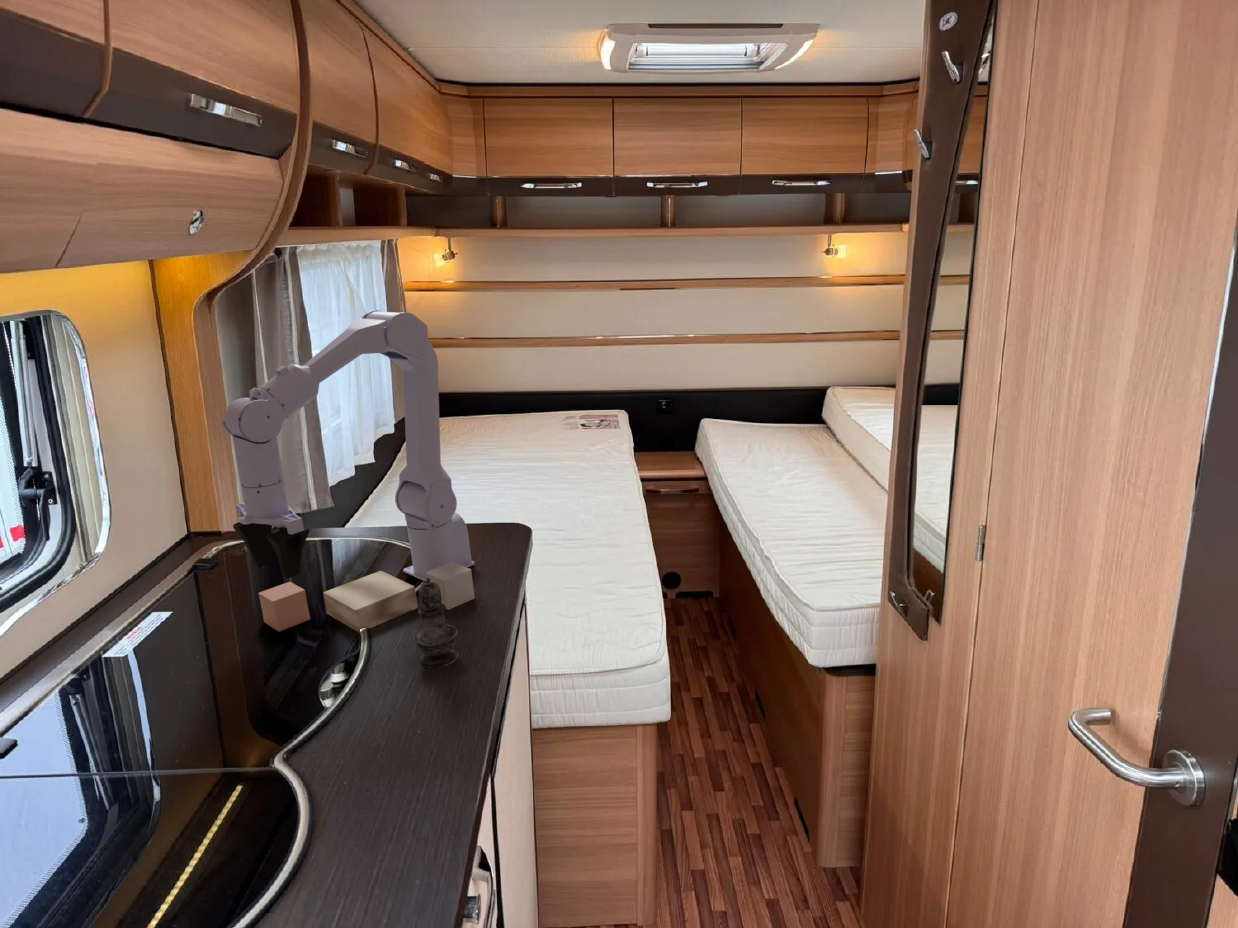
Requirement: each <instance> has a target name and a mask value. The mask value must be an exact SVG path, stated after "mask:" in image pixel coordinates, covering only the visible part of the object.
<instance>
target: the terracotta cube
mask: <svg viewBox="0 0 1238 928" xmlns="http://www.w3.org/2000/svg"><path fill="white" fill-rule="evenodd" d="M258 598H259V602H260V607H261V611H262V617H263V622H264V624H266V625H267V626H269V627H271V628H272V629H274V630H276V631H277V632H282V631H284V630H286V629H289V628H291V627H294V626H296V625H299V624H302V623H305V622H307V621H309V620H311V615H310V611H309V610H310V609H309V606H308V599H307V594H306V590H305V589H304V588H303V587H300V586H298V585H297V584H295V583H293V582H291V581H288V582H286V583H282V584H280V585H276V586H274V587H271V588H268V589H265V590H263V591H260V592H258Z"/></svg>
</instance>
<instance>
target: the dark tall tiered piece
mask: <svg viewBox="0 0 1238 928" xmlns="http://www.w3.org/2000/svg"><path fill="white" fill-rule="evenodd" d="M425 581H426V582H425ZM425 581H424V582H425V583H423V584H422V585H421V586H419V588H418V596H419V598H418V599H419V603H420V608H419V609H418V614H419V615H420V616H421V621H422V629H420V630H418V631H417V632H416V633H415V634H414V635H413V641H414V643H415V644H416V646H417V648H418V649H419V650H420V652H421V653H423V654H422V655H421V656H420V658H419V664H420V666H422V667H424V668H427V669H440V668H444V667H447V666H449V665H452V664H453V663H455V662H456V661H457V660H458V658H459V657H460V655H459V651H458V650H456V648H455V649H454V647H455V644H456V642H457V636H458V633H459V632H458V628H456V626H455V625H451V624H448V623H447V622H446V617H445V616H446V615H445V610H447V609H446V606H445V605H444V604H442V598H441V591H440V587H439V585H438V584H436V583H433V582H430V579H429V578H428V577H427V579H426V580H425Z"/></svg>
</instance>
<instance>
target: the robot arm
mask: <svg viewBox="0 0 1238 928" xmlns="http://www.w3.org/2000/svg"><path fill="white" fill-rule="evenodd" d="M428 329H429V328H428V325H427V324H426V323H425V322H423V321H422V320H421V319H420V318H419V317H418V316H416V315H415V314H413V313H411V312H406V311H403V312H395V311H393V312H391V311H382V310H379V309H375V310H370V311H368V312H366V313H365V314H363V315H362V317H361V318H357V319H355V320H353V321H352V322H351V323H350V324H349V325H348V326H347V328H346V329H345V330H343V332H341V333H340V334H338V336H337V337H335V338H334V339H333V340H332V341H331V342H329V343H328V344H327V345H326V346H325V347H324V348H322V349H321V350H320V351H319V352H318V353H316V354H315V355H314V356H313V357H312V358H310V359H309V360H307V362H305V364H303V365H300V364H295V363H294V364H293V363H292V364H289V365H288V366H285V365H281V366H278V367H277V368H276V369H275V370H274V371H275V373H276V375H274V376H273V377H271V378H270V379H269V380H268V381H266V382H265V383H264V384H263V383H262V385H261V386H259V387H253V388H251V389H250V390H249V391H248V393H249V397H240V398H237V399H235V400H233V401H232V402H231V403H230V404H229V405H228V406H227V407H226V411H224V415H223V416H224V419H222V420H221V424H222V426H223V428H224V431H226V432H227V434H229V435H230V436H231V437H232V440H233V447H234V452H235V460H236V465H237V471H238V476H239V481H240V482H239V483H240V486H241V492H242V497H243V502H242V503H238V504H235V510H236V515H237V518H238V519H239V521H238V522H236V523H233V525H232V527H233V530H234V531H235V532H236V533H237V534H238V535H239V537H240V538H241V539H242V541H243V543H244V544H245V546H246V548H247V549H248V551H249V554H250V556H251V559H252V560H253V562H254V564H255V567H256V568H262V567H265V566H268V565H271V564H272V561H273V553H272V552H273V551H272V548H273V550H274V552H275V555H276V557H277V559H278V563H279V566H280V570H281V573H282V575H283V577H284V578H285V579H291V578H293V577H295V576H298V575H300V573H301V566H302V558H303V552H304V551H303V550H304V547H305V544H306V540H307V538H308V536H309V535H310V528H309V527H308V526H305V525H304V523H303V518H302V517H301V516H298V515H297V513H296V512H294V510H293V509H292V508H291V507H290V506H289V502H288V501H289V500H288V497H287V496H288V495H287V490H286V484H285V478H284V472H283V465H282V461H281V453H280V448H279V443H278V435H279V434H280V432H281V430H282V429H283V423H284V422H285V421H287V420H288V419H290V417H292V416H293V415H294V414H296V413H297V412H298V411H299V410H301V409H302V408H303V407H304V406H306V405H308V403H309V402H311V401H312V400H314V399H315V398H317V397H318V394H319V391H320V390H319V389H320V384H321V383H322V382H324V381H325V380H327V379H328V378H329V377H331V376H333V374H335V373H337V372H338V371H340V370H341V369H342V368H344V367H345V366H347V365H348V364H350V363H351V362H352V361H354V360H356V359H357V358H358V357H360V356H362V355H364V354H365V355H366V354H367V355H368V354H381V355H383V356H385V357H387V358H388V359H389V360H391V361H392V362H393V363H394V364H395V365H397V366H398V367H399V368H400V369H401V370H402V372H403V373H402V374H403V396H404V397H403V399H404V400H403V401H404V402H403V403H404V425H405V428H404V429H405V432H404V433H405V450H406V451H405V453H406V454H405V455H406V456H405V457H406V466H405V467H403V469H402V470H401V471H400V473H399V475H398V477H399V479H398V480H399V483H398V486H397V489H396V490H395V491H396V492H395V494H394V495H395V496H394V502H395V506H396V508H397V509H398V511H399V512H401V513H402V514H404V519H405V522H406V528H407V537H408V542H409V548H410V555H411V562H412V565H410V566H407V567H405V568H403V570H402V571H403V573H404V574H408V575H410V576H412V577H414V578H416V579H419V580H421V581H423V582H425V583H427V582H426V581H425V580H426V579H427V578H426V572H428V571H431V570H433V569H436V568H438V567H441V566H443V565H446V564H448V563H451V562H454V563H456V564H459V565H461V566H464V567H466V568H469V567H471V566H474V565H475V561H473V560H472V554H471V545H470V538H469V532H468V531H469V530H468V527H467V525H466V522H465V520H464V518H463V517H462V516H461V515H460V514H459V513H457V512H456V510H457V506H458V505H457V504H458V500H457V497H456V494H455V492H454V490H453V487H452V478H451V476H450V475H449V474H448V472H446V470H445V469H444V467H443V465H442V463H441V435H440V433H441V431H440V426H441V425H440V397H439V396H440V395H439V392H440V391H439V365H438V363H439V361H438V355H437V353H436V351H435V349H434V347H433V345H432V343H431V342H432V341H431V340H430V338H429V332H428V331H429V330H428ZM273 527H274V528H275V527H276V528H278V531H275V532H272V530H273Z"/></svg>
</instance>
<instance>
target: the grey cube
mask: <svg viewBox="0 0 1238 928" xmlns="http://www.w3.org/2000/svg"><path fill="white" fill-rule="evenodd" d="M472 574H473V573H472V569H471V568H469V567H467V568H466V567H464V566H461V565H459V564H456V563H454V562H451V563H448V564H446V565H443V566H441V567H438V568H436V569H433V570H431V571H428V572H426V578H427V577H428V578H429V579H430V582H433V583H436V584H438V585H439V587H440V591H441V598H442V604H444V605H445V606H446V609H445V610H452V609H453V608H454V609H455V607H458V606H460V605H463V604H464V603H465V604H466V603H467V602H469V601H471V600H474V599H475V589H474V583H473V582H474V581H473V575H472Z"/></svg>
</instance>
